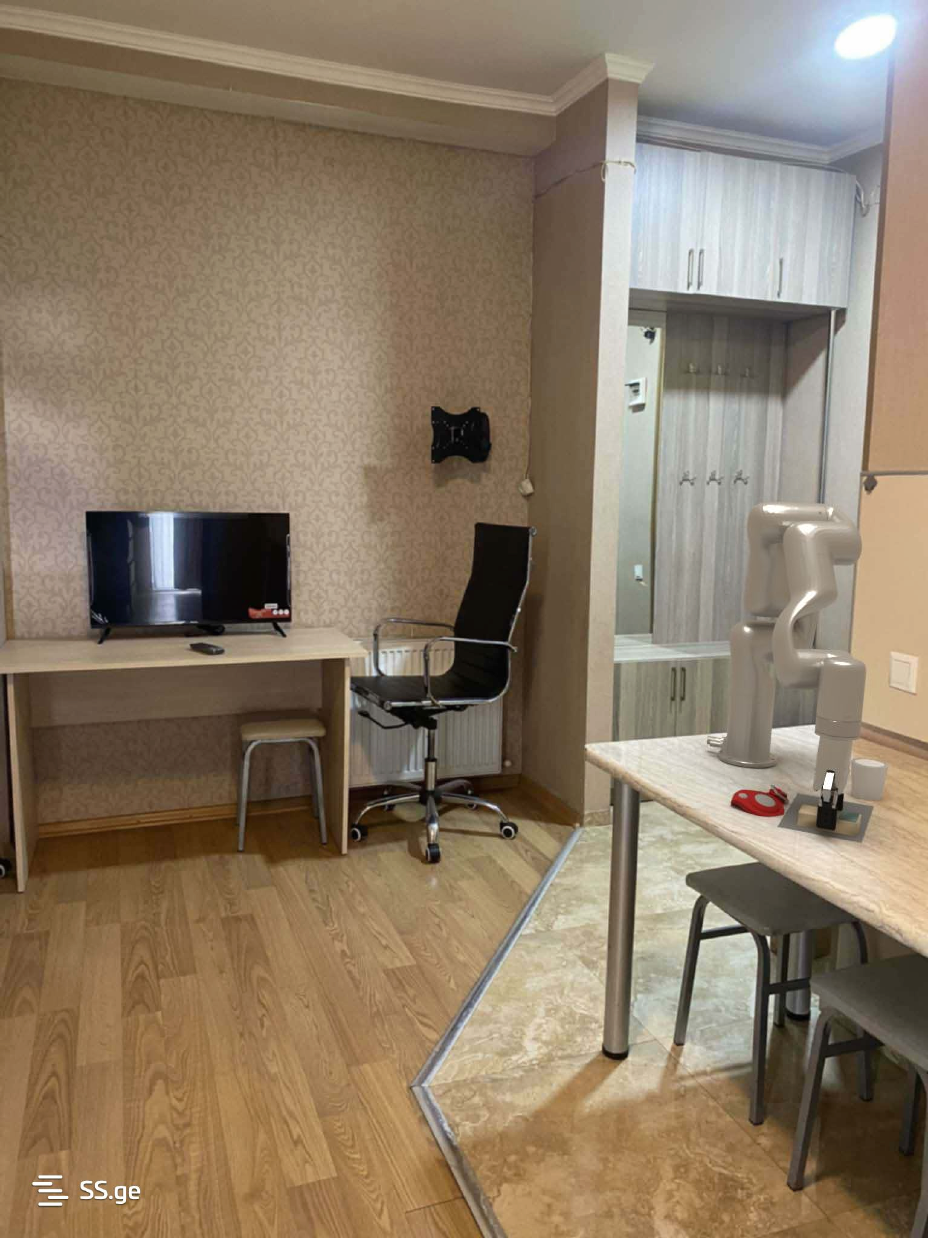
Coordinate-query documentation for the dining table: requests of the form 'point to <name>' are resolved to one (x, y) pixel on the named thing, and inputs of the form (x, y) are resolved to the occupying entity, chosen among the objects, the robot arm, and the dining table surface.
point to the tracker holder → (761, 801)
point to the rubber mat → (801, 799)
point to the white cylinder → (868, 778)
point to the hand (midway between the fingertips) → (829, 820)
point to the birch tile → (844, 823)
